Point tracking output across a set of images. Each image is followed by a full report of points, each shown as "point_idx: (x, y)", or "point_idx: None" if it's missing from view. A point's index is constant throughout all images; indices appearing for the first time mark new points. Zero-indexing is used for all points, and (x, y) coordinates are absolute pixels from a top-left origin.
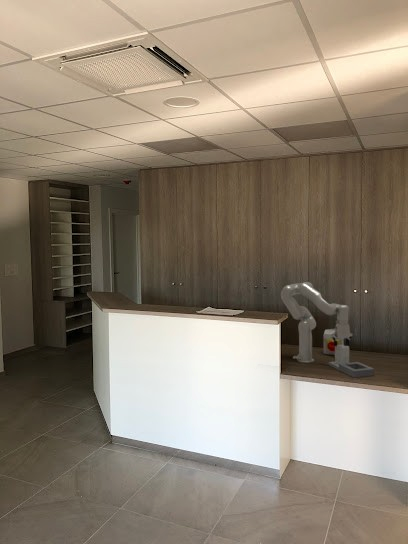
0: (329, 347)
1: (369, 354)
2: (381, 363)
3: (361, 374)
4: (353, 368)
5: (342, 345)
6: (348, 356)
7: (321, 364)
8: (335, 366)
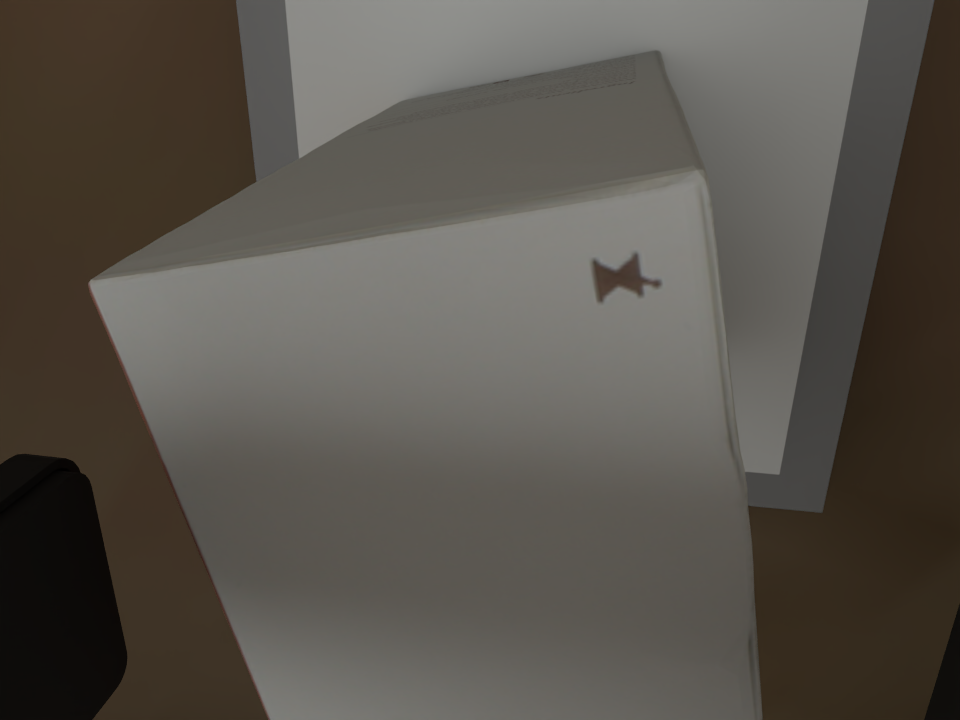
0: None
1: None
2: None
3: None
4: None
5: (369, 646)
6: (360, 134)
7: (944, 513)
8: (875, 116)
